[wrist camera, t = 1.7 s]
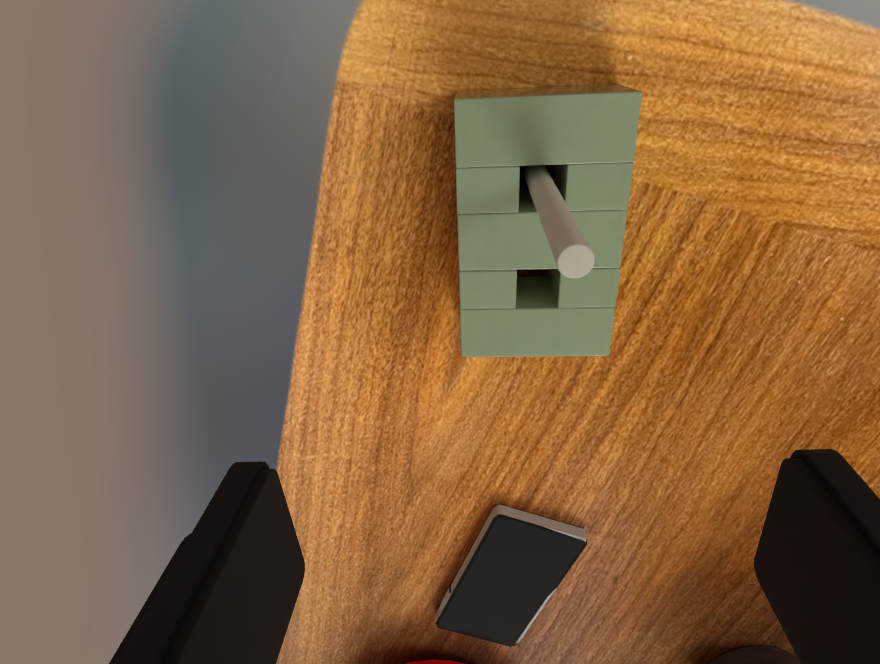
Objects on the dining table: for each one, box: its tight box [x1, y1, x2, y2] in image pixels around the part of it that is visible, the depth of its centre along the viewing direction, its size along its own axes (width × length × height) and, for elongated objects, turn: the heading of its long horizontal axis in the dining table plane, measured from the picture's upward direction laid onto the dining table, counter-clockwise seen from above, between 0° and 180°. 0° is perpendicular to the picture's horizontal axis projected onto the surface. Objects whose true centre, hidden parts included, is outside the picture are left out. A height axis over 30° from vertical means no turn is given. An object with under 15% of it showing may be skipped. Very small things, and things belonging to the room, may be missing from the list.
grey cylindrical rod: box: [524, 165, 595, 278], centre depth 23 cm, size 1×1×14 cm
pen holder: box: [454, 84, 642, 357], centre depth 29 cm, size 13×8×4 cm, turn 2°
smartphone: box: [435, 505, 587, 647], centre depth 45 cm, size 8×1×15 cm
